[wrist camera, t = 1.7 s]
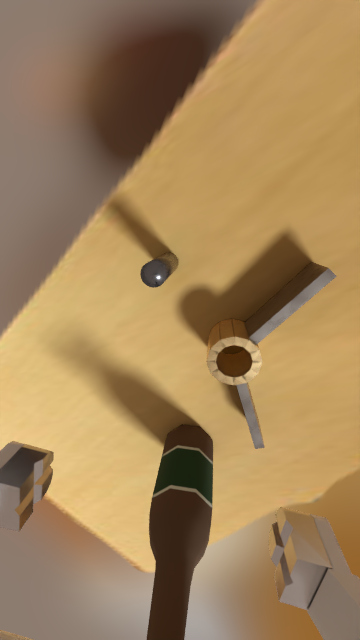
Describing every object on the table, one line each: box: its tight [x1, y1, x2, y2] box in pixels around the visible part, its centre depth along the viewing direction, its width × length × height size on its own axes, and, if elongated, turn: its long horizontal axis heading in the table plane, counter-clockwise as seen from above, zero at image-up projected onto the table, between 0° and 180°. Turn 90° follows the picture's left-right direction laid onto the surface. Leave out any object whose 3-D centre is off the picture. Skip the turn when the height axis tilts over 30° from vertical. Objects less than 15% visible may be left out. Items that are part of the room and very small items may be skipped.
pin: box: [141, 253, 178, 287], centre depth 29 cm, size 2×2×9 cm
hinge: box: [207, 262, 336, 449], centre depth 33 cm, size 21×15×6 cm
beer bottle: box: [147, 425, 213, 640], centre depth 31 cm, size 8×8×24 cm
